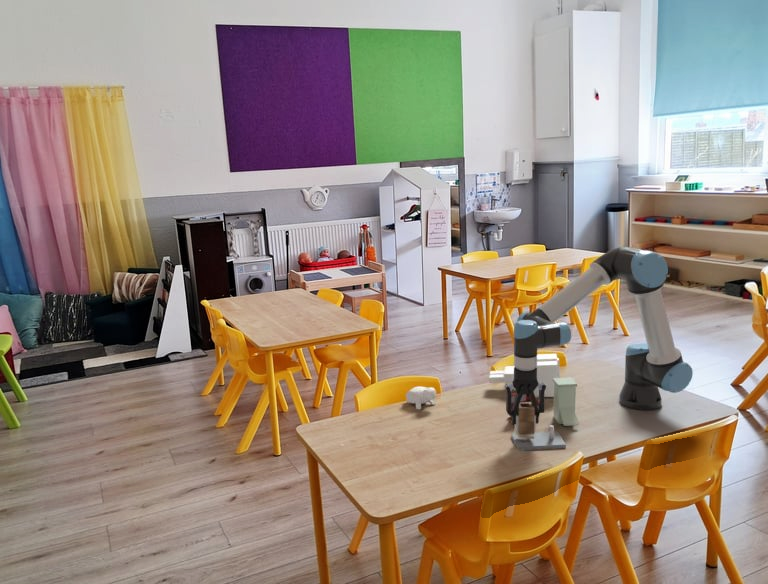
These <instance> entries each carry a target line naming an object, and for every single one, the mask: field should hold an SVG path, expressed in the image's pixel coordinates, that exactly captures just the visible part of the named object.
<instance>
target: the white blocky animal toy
mask: <svg viewBox="0 0 768 584" xmlns="http://www.w3.org/2000/svg"><path fill="white" fill-rule="evenodd" d="M405 398H406V403H407V402H408V403H410V404H414V405H415V409H416V410H417V409H418V411H420V410H421V409H422V405H423V404H426V403H427V402H428V403H430V405H432V406H435V405H436V402H435V401H434V400H435V399H436V398H437V391H436V389H435V388H434V387H431V386H430V387H425V386H414V387H412V388H411V389H409V390H408V391H407V392H406V395H405Z"/></svg>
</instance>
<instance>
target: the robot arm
mask: <svg viewBox="0 0 768 584" xmlns="http://www.w3.org/2000/svg"><path fill="white" fill-rule="evenodd" d="M668 271H669V268H668V263H667V261H666V259H665V258H664V257H663V256H662V255H661V254H659V253H657V252H655V251H652V250H649V249H639V248H635V247H633V246H632V247H631V246H618V247H616V248H613V249H610V250H609V251H607V252H605V253H604V254H602V255H600V256H599V257H598V258H596V259H595V260H593V261H592V262H591V263H590V264H589V267H588V269H587V270H585V271H583V273H581V274H580V275H579V276H578V277H576V278H575V279H573V280H571V282H570V283H568V284H566V285H565V286H564V287H563V288H562V289H560V290H559V291H558V292H556V293H555V294H554V295H553V296H552V297H550V298H549V299H547V300H546V301H545V302H544V303H542V304H541V305H540V306H538V307H537V308H536V309H534V310H533V311H531V312H529V311H528V312H526V311H525V312H522V313H521V314H520V315H518V317H517V319H516V322H515V323H514V327H513V333H512V334H513V366H515V367H514V380H513V382H512V384H510V385H507V384H506V385H505V384H504V389H505V391H506V394H505V395H506V396H505V397H506V399H505V400H506V401H505V412H506V413H507V415H508V416H509V415H512V417H511V423H512V425H513V426H514V432H515V433H514V434H516V435H518V434H519V416H518V414H517V411H518V407H519V404H520V400H521V398H522V395H524V394H529V395H530V399H531V403H532V405H533V406H534V408H535V411H534V434H536V433H537V431H536V428H537V424H539V418H540V414H543V413H545V397H544V391H545V389H546V385H545V384H544V383H539V382H538V381H537V368H536V367H537V354H538V349H545V348H551V347H560V346H563V345H567V344H569V343H570V341H571V339H572V330H571V328H570V326H569V324H567V323H566V322H565V321H564V322H563V321H562V322H561V321H560V322H559V321H558V320H560V319H561V318H562V317H564V316H565V315H566V314H567V313H569V312H570V311H571V310H572V309H573V308H575V307H576V306H578V305H579V304H580V303H582V302H583V301H584V300H586V299H587V298H588V297H589V296H590V295H592V294H593V293H595V292H596V291H597V290H598V289H600V288H601V287H602V286H603V285H606V286H607V285H610V284H611V283H612V282H614V281H617V280H623V281H625V282H626V286H627V289H628V293H629V294H631V295H634V298H635V303H636V306H637V310H638V313H639V317H640V322H641V325H642V330H643V332H644V336H645V340H646V341H645V342H646V343H635V344H634V343H633V344H630V345H629V346H627V348H626V351H625V362H624V363H625V364H624V365H625V366H624V367H625V368H624V369H625V370H624V372H625V373H624V382H623V383H624V384H623V385H622V388H621V389H620V393H619V395H618V398H619V399H618V402H619V403H620V404H621V405H622V406H624V407H626V408H629V409H634V410H638V411H652V410H656V409H659V408H661V406H662V400H663V399H662V395H661V392H660V389H661V390H664V391H667V392H669V393H673V394H677V393H680V392H683V391H684V390H685V389H686V388H687V387H688V386H689V385H690V383H691V381H692V379H693V373H694V372H693V371H694V370H693V368H692V366H691V365H690V364H689V363H687V362H684V360H683V356H682V353H681V350H680V349H679V348H677V347H676V346H675V342H674V338H673V335H672V330H671V326H670V322H669V321H670V320H669V318H668V314H667V310H666V306H665V305H666V304H665V302H664V298H663V293H662V289H663V287H664V285H665V281H666V280H667V277H666V276H667V275H668V274H669V273H668ZM537 386H538V388H539V397H538V403H539V408H538V407H537V403H536V400H535V395H534V392H533V391H534V390H535V389H536V387H537ZM514 388H515V389H516V390H515V391H516V392H515V393H516V396H515V400H514V404H513V407H512V410H511V394H512V392H513V389H514ZM659 388H660V389H659Z"/></svg>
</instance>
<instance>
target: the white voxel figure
mask: <svg viewBox="0 0 768 584" xmlns="http://www.w3.org/2000/svg"><path fill="white" fill-rule="evenodd" d="M514 367H515V366H514V365H512V366H511V365H510V366H509V365H508V366H505V367H504V370H490V372H489V377H488V381H489V384H495V383H496V384H497V383H498V384H499V383H504V386H505V385H506V384H507V385H510V384H512V382H513V380H514ZM536 368H537V381H538V382H539V383H544V384H545V385H546V389H545V391H544V398H554V382H553V378H561V372H560V371H561V368H560V359H559V357H557V353H540V354H538V353H537V367H536ZM513 391H517V390H516V389H515V388H514V387H513ZM533 392H534V395H535V397H536V398H539V388H538V386H537V387H536V389H535V390H534V391H533Z"/></svg>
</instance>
